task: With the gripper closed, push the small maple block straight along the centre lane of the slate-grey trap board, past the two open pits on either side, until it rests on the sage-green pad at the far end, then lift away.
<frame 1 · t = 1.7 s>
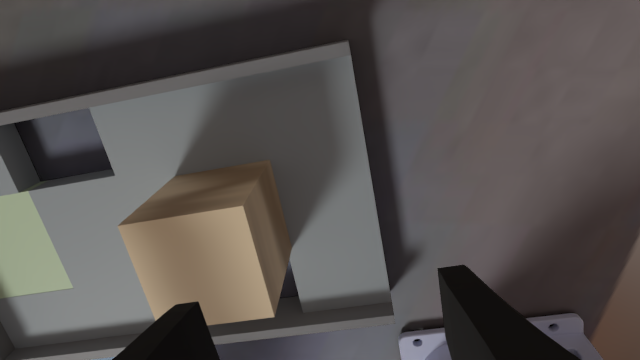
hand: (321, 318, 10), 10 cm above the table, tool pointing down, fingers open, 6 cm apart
trap board: (158, 213, 21), on the table
block: (234, 213, 19), point 1 cm above the table, touching trap board
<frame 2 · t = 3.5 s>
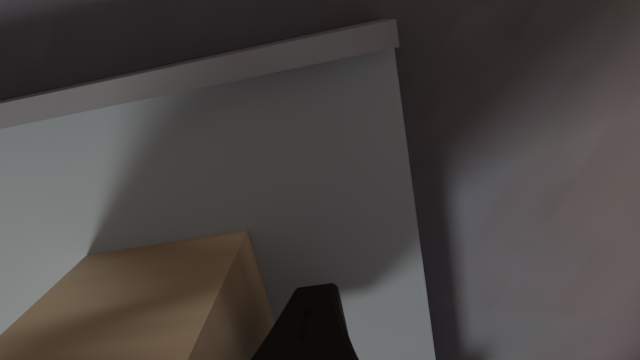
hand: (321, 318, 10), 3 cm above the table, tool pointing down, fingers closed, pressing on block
trap board: (77, 299, 14), on the table
block: (191, 312, 12), point 2 cm above the table, touching gripper, trap board
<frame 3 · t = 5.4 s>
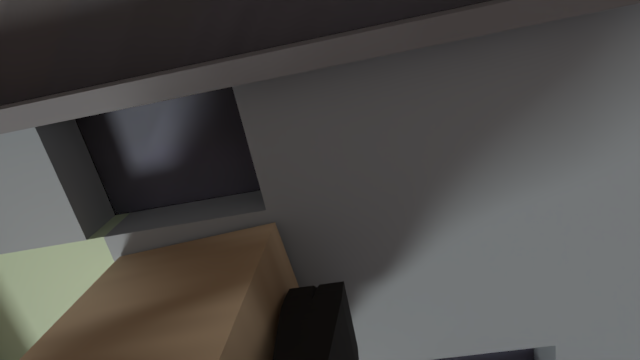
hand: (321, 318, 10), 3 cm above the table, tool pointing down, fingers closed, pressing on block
trap board: (311, 265, 13), on the table
block: (225, 308, 12), point 2 cm above the table, touching gripper, trap board
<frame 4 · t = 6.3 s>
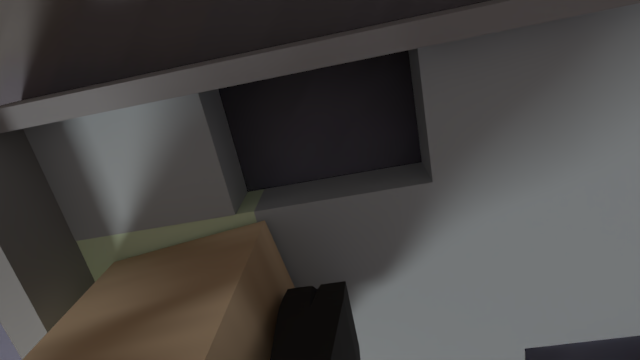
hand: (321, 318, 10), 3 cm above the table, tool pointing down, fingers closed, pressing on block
trap board: (449, 245, 12), on the table
block: (221, 308, 12), point 2 cm above the table, touching gripper, trap board
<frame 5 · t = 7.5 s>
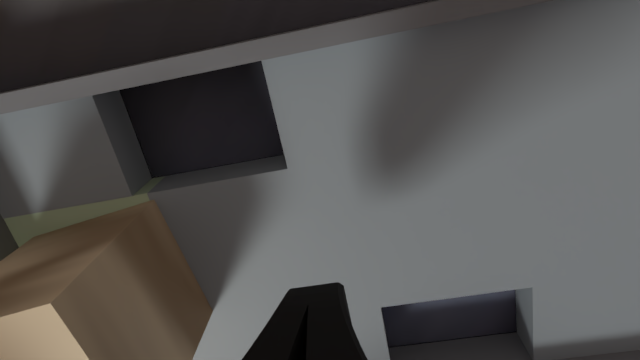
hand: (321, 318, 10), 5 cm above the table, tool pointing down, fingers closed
trap board: (323, 223, 15), on the table
block: (125, 275, 14), point 1 cm above the table, touching trap board
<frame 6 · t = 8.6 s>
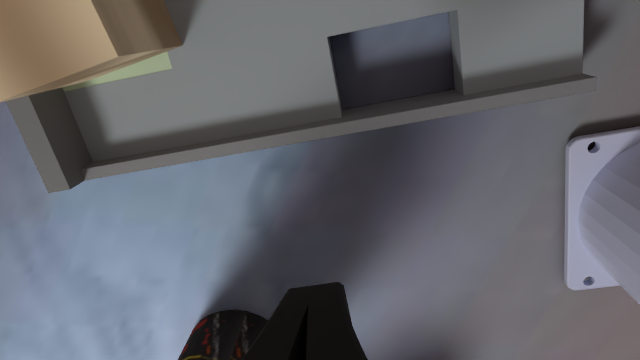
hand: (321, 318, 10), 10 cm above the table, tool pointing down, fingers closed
deodorant: (239, 348, 25), on the table
block: (108, 7, 16), point 1 cm above the table, touching trap board
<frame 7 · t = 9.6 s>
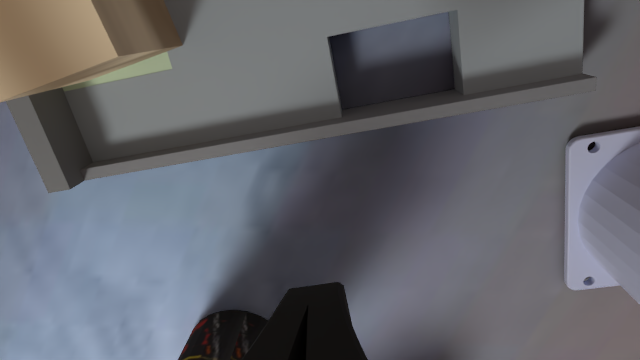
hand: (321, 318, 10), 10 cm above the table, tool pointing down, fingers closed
deodorant: (239, 348, 25), on the table
block: (108, 7, 16), point 1 cm above the table, touching trap board
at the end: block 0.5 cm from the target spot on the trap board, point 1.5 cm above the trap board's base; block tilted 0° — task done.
